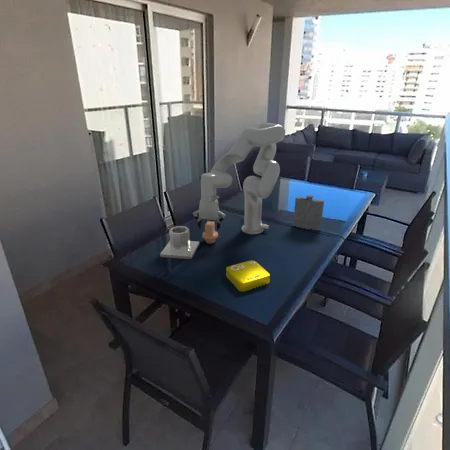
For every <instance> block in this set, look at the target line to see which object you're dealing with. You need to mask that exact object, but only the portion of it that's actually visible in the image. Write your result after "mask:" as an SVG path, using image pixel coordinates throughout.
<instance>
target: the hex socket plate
mask: <svg viewBox="0 0 450 450" xmlns="http://www.w3.org/2000/svg"><path fill="white" fill-rule="evenodd" d="M168 232H169V233H168V234H169V241H168V243H167V244H166V245H165V247H164V248H163V249H162V251H161V252H160V254H159V255H160V256H159V257H161V258H170V259H180V260H181V259H183V260H193V257H194V256H195V255H196V252H197V250H198V249H199V247H200V243H201V242H200V241H198V240H197V241H193V240H191V237H190V229H189V228H188V227H187V226H185V225H184V226H183V225H177V226H174V227H171V228H170V229H169V230H168Z"/></svg>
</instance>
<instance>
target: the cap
mask: <svg viewBox="0 0 450 450" xmlns="http://www.w3.org/2000/svg"><path fill="white" fill-rule="evenodd" d="M206 221H207V220H206ZM215 223H216V221H209V220H208V221H207V222H206V223H205V224H204V231H203V232H202V237H201V238H202V239H203V240H205V243H206V244H208V245H210V244H211V245H212V244H214V243H216V239H218V238H219V233H218V231H216V224H215Z"/></svg>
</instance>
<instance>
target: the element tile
mask: <svg viewBox="0 0 450 450" xmlns="http://www.w3.org/2000/svg"><path fill="white" fill-rule="evenodd" d="M225 272H226V273H225V276H226V278H227V279H228V280H229V281H230V282H231V283H232V285H233V284H234V285H233V286H234V287H235V288H236V289H237V290H238V291H239V292H246V291H250V290H253V288H254V289H256V287H257V288H259V286H260V287H262V285H263V286H266V285H268V284H269V283H270V282H271V280H270V277H271V275H270V273H269V272H268V271H267V270H266V269H265V268H264V267H263V266H261V265H260V264H259V263H258V262H257V261H255V260H252V259H251V260H247V261H244V262H240V263H236V264H233V265H229V266H226V269H225ZM265 284H266V285H265Z"/></svg>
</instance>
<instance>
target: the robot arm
mask: <svg viewBox="0 0 450 450" xmlns="http://www.w3.org/2000/svg"><path fill="white" fill-rule="evenodd" d="M285 136H286V129H285V127H284V126H283V125H281V124H277V123H272V122H262V123H260V124H259V125H258V128H256V127H250V126H249V127H246V128H245V129H243V131H242V132H241V134H240V135H239V137H238V139H236V141H235V143H234V144H233V146H232V147H231V148H230V150H229V151H228V152H227V153H225V154H223V155H222V156H221V157H220V158H219V159H218V160H217V161H216V162H215V164H214V165H213V167H211V170H210V171H209V172H205V173H203V174H201V175H200V190H201V191H200V194H201V196H200V200H199V207H198V210H196V211H193V213H192V215H193V217H194V219H195V220H196V222H197V226H198V229H202V227H203V225H202V224H203V223H202V220H214V221H215V222H217V223H216V230H217V231H219V230H220V228H221V222H223V221H224V219H225V218H226V216H227V215H226V214H225V212H224V213H223V212H222V211H220V205H219V200H218V199H220V196H219V195H218V194H217V188H218V189H220V188H221V189H223V188H224V189H225V188H228V187H230V186H231V185H232V184H233V176H232V175H231V174H229V173H228V172H226V171H227V170H228V169H229V168H230V167H231V166H232V165H235V164H238V163H240V162H244V161H245V159H246V158H247V156H248V154H249V153H250V152H251V150H252V149H253V147H256V148H257V147H258V148H259V152H258V154H257V155H256V156H257V157H256V159H255V161H254V164H253V167H252V169H253V170H252V171H253V172H254V174H256V175H258V176H261V177H258V176H255V175H249V176H247V177H246V178H245V179H244V181H243V184H242V187H243V188H242V189H243V193H244V223H243V225H242V226H241V231H242V232H243V233H245V234H248V235H258V234H259V235H260V234H261V233H263V232H264V229H265V230H266V229H267V230H269V228H270V227H269V226H270V225H268V224H267V223H263V221H262V208H263V207H262V205H263V199H267V198H268V197H269V196H270V195H271V194H272V192H273V189H274V187H275V185H276V183H277V180H278V178H279V176H280V172H281V168H280V164H279V162H277V161H276V160H274V158H275V155H276V153H277V143H280V142H281V141H282V140H283V139H284V138H285ZM197 214H198V215H197ZM220 216H221V217H220Z"/></svg>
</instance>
